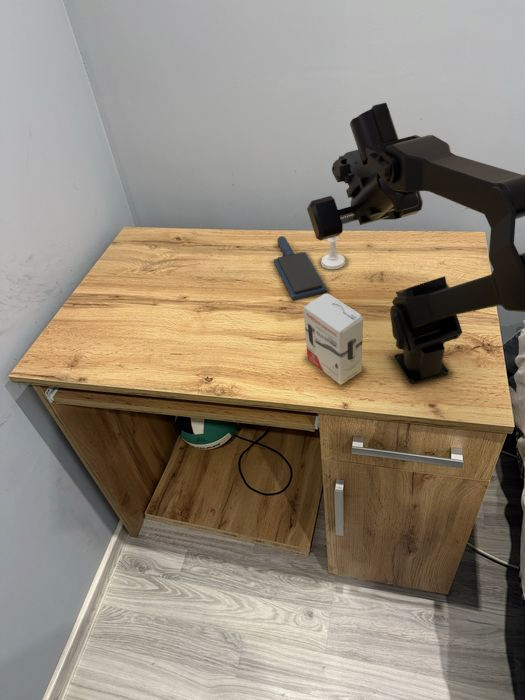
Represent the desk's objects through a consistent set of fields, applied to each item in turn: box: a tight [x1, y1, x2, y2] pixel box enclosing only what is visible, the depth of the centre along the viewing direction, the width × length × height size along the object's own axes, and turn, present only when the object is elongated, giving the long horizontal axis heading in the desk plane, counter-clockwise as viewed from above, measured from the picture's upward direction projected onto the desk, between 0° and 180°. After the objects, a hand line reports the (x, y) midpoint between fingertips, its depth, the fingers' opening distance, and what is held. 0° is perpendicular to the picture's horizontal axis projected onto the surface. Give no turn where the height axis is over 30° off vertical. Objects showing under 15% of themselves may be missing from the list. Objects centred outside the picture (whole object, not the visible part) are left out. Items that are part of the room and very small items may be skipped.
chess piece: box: [320, 236, 346, 270], centre depth 101 cm, size 5×5×10 cm
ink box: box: [302, 292, 364, 386], centre depth 79 cm, size 8×5×12 cm, turn 37°
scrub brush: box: [273, 235, 328, 301], centre depth 104 cm, size 21×7×2 cm, turn 14°
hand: (349, 222), depth 90 cm, fingers open, 9 cm apart
